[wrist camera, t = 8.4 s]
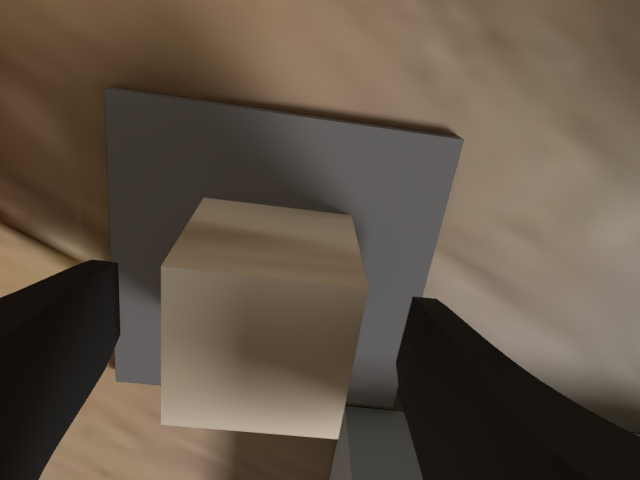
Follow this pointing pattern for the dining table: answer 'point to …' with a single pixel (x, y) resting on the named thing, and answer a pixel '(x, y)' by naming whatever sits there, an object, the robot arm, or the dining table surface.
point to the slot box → (375, 447)
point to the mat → (275, 190)
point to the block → (261, 319)
